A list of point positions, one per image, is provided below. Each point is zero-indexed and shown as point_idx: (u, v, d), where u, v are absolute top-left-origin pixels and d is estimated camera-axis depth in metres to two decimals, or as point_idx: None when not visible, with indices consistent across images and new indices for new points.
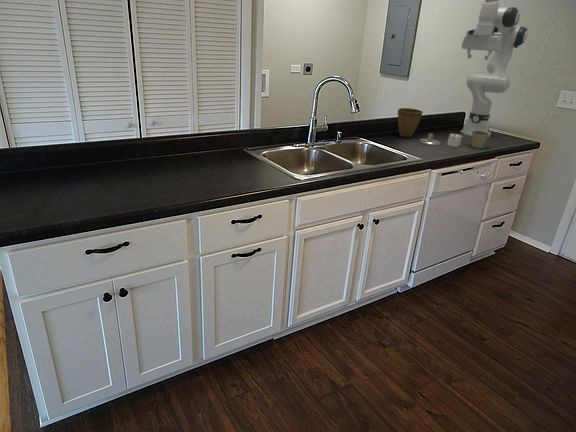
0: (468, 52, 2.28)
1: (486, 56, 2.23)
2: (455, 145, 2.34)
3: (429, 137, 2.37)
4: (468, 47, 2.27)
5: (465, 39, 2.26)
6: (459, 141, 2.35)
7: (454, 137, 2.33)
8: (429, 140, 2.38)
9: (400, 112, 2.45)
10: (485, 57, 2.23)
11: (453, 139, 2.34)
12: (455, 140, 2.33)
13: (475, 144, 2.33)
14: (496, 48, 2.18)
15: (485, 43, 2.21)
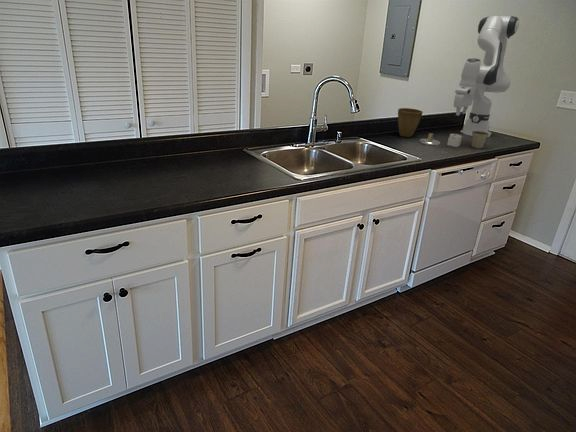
0: None
1: (465, 111, 2.32)
2: (455, 145, 2.34)
3: (429, 137, 2.37)
4: (462, 105, 2.22)
5: (463, 98, 2.18)
6: (459, 141, 2.35)
7: (454, 137, 2.33)
8: (429, 140, 2.38)
9: (400, 112, 2.45)
10: (465, 112, 2.32)
11: (453, 139, 2.34)
12: (455, 140, 2.33)
13: (475, 144, 2.33)
14: (471, 102, 2.32)
15: (469, 99, 2.27)
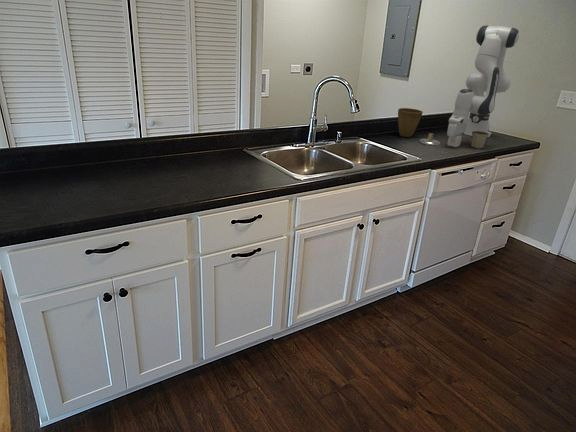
0: None
1: None
2: (455, 145, 2.34)
3: (429, 137, 2.37)
4: (455, 134, 2.29)
5: (456, 128, 2.25)
6: (459, 141, 2.35)
7: None
8: (429, 140, 2.38)
9: (400, 112, 2.45)
10: None
11: None
12: (455, 140, 2.33)
13: (475, 144, 2.33)
14: (465, 130, 2.39)
15: (462, 128, 2.34)
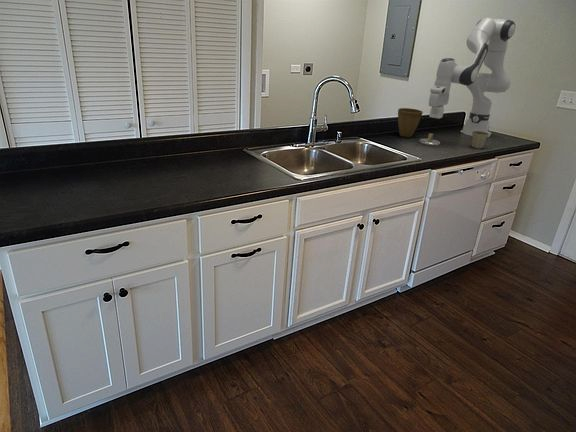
0: None
1: None
2: (437, 116, 2.29)
3: (429, 137, 2.37)
4: (437, 104, 2.24)
5: (438, 97, 2.21)
6: (441, 112, 2.30)
7: (436, 108, 2.28)
8: (429, 140, 2.38)
9: (400, 112, 2.45)
10: None
11: None
12: (437, 111, 2.28)
13: (476, 144, 2.33)
14: (447, 102, 2.35)
15: (444, 99, 2.29)
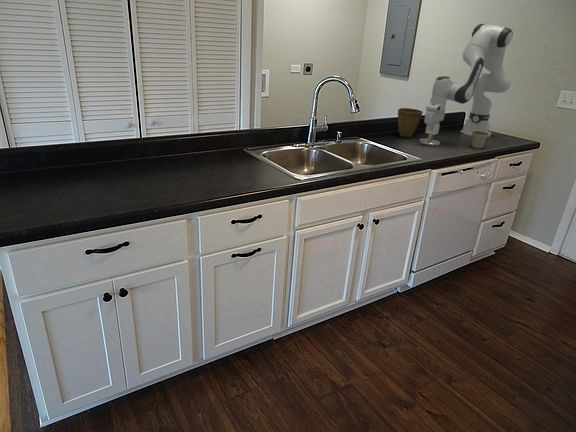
0: (431, 125, 2.31)
1: None
2: (433, 133, 2.33)
3: (429, 137, 2.37)
4: (433, 121, 2.29)
5: (433, 115, 2.25)
6: (437, 129, 2.34)
7: (432, 125, 2.32)
8: (429, 140, 2.38)
9: (400, 112, 2.45)
10: None
11: None
12: (433, 128, 2.33)
13: (476, 144, 2.33)
14: (443, 118, 2.39)
15: (440, 115, 2.33)
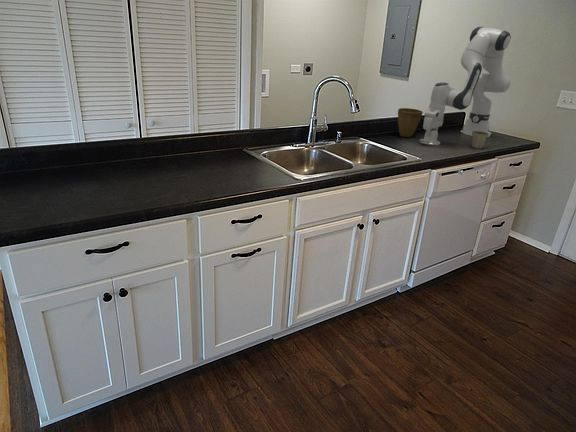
0: (429, 131, 2.32)
1: None
2: (431, 141, 2.36)
3: None
4: (431, 127, 2.30)
5: (432, 121, 2.26)
6: (435, 137, 2.36)
7: (430, 133, 2.34)
8: None
9: (400, 112, 2.45)
10: None
11: None
12: (431, 136, 2.35)
13: (475, 144, 2.33)
14: (442, 123, 2.40)
15: (438, 121, 2.35)
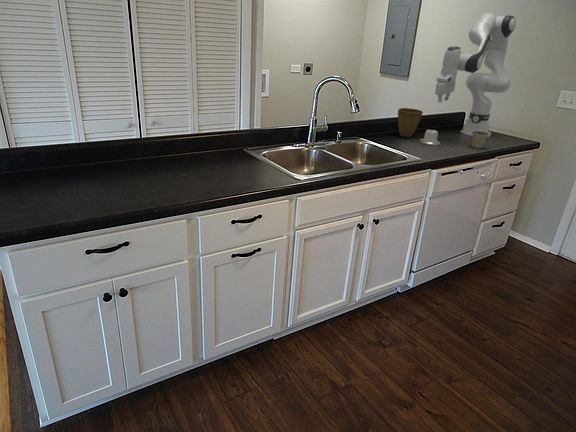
0: (441, 97, 2.31)
1: (448, 97, 2.39)
2: (431, 141, 2.36)
3: None
4: (444, 93, 2.29)
5: (444, 86, 2.25)
6: (435, 137, 2.36)
7: (430, 133, 2.34)
8: None
9: (400, 112, 2.45)
10: (447, 98, 2.39)
11: (429, 135, 2.35)
12: (431, 136, 2.35)
13: (475, 144, 2.33)
14: None
15: (450, 87, 2.34)
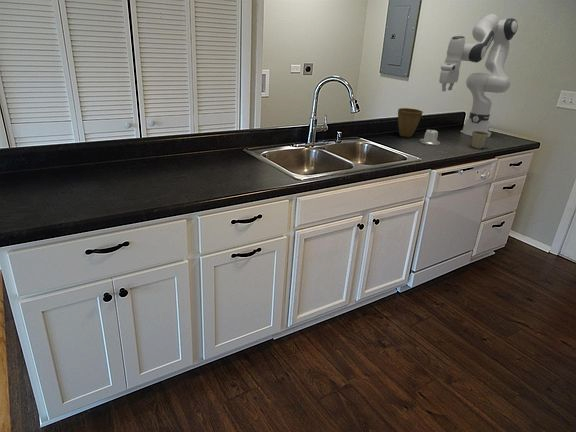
0: (445, 86, 2.33)
1: (451, 87, 2.41)
2: (431, 141, 2.36)
3: None
4: (447, 81, 2.31)
5: (448, 74, 2.28)
6: (435, 137, 2.36)
7: (430, 133, 2.34)
8: None
9: (400, 112, 2.45)
10: (451, 88, 2.41)
11: (429, 135, 2.35)
12: (431, 136, 2.35)
13: (475, 144, 2.33)
14: (457, 79, 2.42)
15: (454, 76, 2.36)
